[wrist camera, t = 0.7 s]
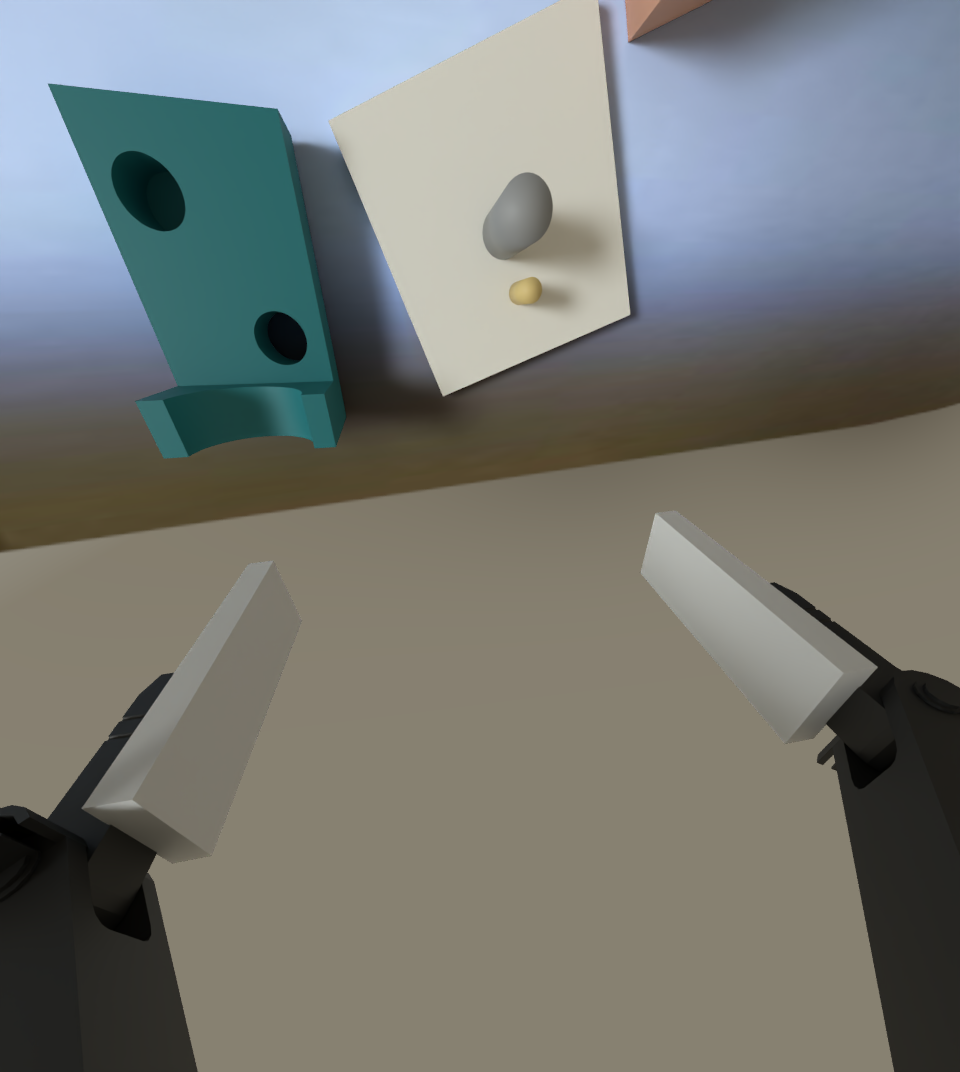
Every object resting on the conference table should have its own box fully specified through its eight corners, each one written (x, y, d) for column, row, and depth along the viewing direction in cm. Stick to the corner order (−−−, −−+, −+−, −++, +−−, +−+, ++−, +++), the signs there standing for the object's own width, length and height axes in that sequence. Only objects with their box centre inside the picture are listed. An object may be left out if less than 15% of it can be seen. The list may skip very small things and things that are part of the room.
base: (333, 131, 24) (295, 52, 16) (586, 0, 22) (664, -148, 15) (442, 393, 33) (447, 414, 26) (622, 314, 32) (679, 314, 25)
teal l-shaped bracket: (347, 413, 34) (335, 446, 25) (222, 419, 32) (164, 458, 23) (295, 144, 24) (247, 50, 15) (110, 126, 22) (-63, 7, 13)
